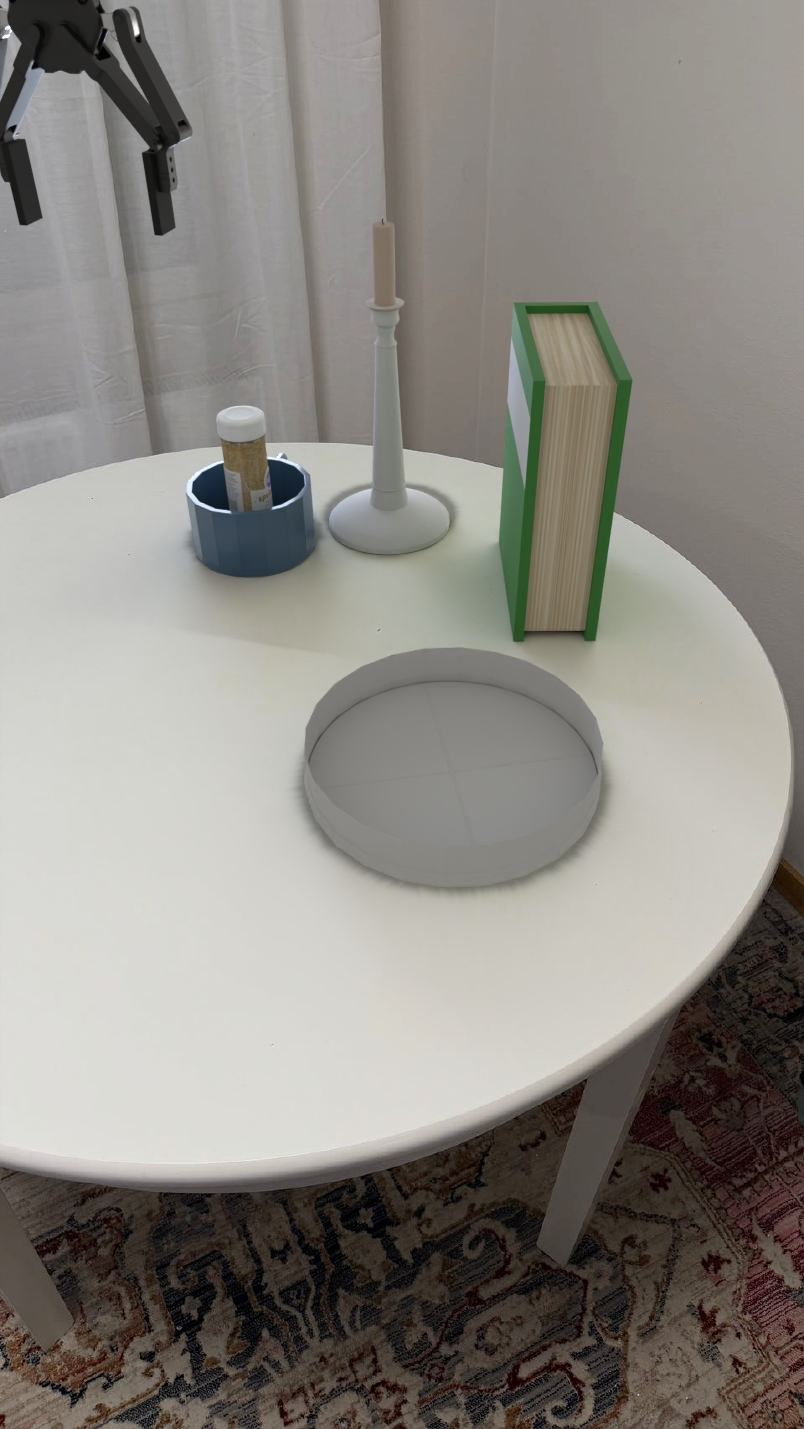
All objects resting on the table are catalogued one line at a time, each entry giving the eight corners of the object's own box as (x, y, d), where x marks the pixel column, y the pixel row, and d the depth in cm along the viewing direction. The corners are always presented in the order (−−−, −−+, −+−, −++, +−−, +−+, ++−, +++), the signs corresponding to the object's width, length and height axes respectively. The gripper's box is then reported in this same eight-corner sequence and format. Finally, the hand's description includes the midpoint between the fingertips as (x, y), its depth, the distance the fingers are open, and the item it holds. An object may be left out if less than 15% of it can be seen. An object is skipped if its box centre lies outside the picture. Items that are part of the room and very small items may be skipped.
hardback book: (595, 640, 91) (632, 380, 75) (513, 641, 91) (533, 381, 75) (570, 540, 104) (597, 301, 89) (498, 541, 104) (513, 302, 89)
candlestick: (412, 566, 100) (410, 247, 81) (305, 535, 105) (280, 227, 86) (470, 511, 109) (481, 210, 89) (369, 484, 114) (359, 194, 94)
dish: (551, 679, 86) (556, 632, 83) (641, 874, 70) (652, 824, 66) (292, 710, 83) (287, 662, 80) (322, 920, 67) (317, 870, 64)
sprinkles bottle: (279, 547, 102) (266, 421, 93) (234, 552, 101) (217, 425, 93) (274, 525, 105) (261, 401, 97) (230, 530, 105) (214, 406, 96)
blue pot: (290, 585, 98) (284, 521, 94) (176, 567, 101) (164, 504, 96) (340, 510, 109) (337, 450, 105) (236, 496, 112) (229, 437, 107)
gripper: (209, -72, 78) (240, 224, 91) (-68, -72, 83) (0, 207, 97) (165, -67, 72) (205, 247, 86) (-128, -68, 78) (-47, 228, 91)
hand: (97, 227), depth 91 cm, fingers open, 13 cm apart
